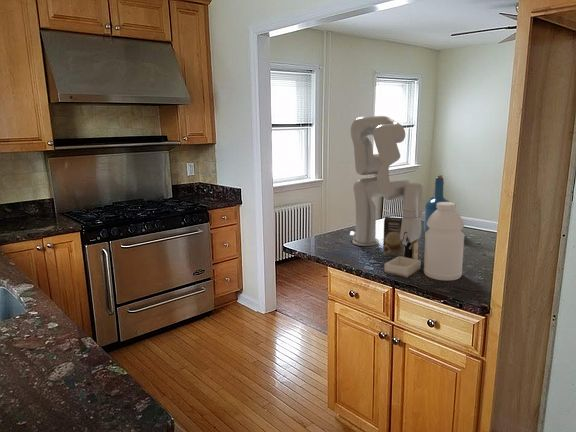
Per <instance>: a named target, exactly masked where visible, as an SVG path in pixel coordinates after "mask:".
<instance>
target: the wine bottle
mask: <svg viewBox="0 0 576 432" xmlns="http://www.w3.org/2000/svg"><path fill="white" fill-rule="evenodd" d="M444 183H445V182H444V177H443V175H442V174H437V175H436V178H435V180H434V194H433V195H434V196H432V197H430V198H429V199H428V200H427V201H426V202H425V204H424V220H423V221H424V223H423V224H424V225H423V232H424V233H425V232H426V231H427V230H428V229H429V227H428V226H427V224H426V223H427V221H428V219H429V217H430V216H431V214H432V213H433V212H434V211H435V210H437V209H438V208H436V205H437V203H439V202H450V201H449V200H448V199H447V198H445V197H444Z"/></svg>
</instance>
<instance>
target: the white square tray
mask: <svg viewBox="0 0 576 432" xmlns="http://www.w3.org/2000/svg"><path fill="white" fill-rule="evenodd" d="M421 264H422V261H421V260H420V259H418V260H416V259H411V258H406V257H404V256H395V257H394V258H392V259H391V260H389V261H386V262H385V263H384V273H387V274H391V275H395V276H400V277H403V278H408V277H409V276H411V275H413V274H415V273H416V272H418V271H419V270H421V267H422V265H421Z"/></svg>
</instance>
